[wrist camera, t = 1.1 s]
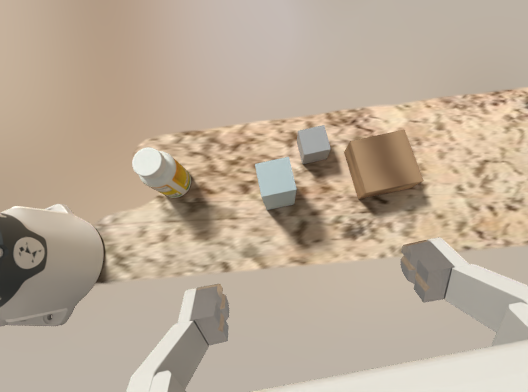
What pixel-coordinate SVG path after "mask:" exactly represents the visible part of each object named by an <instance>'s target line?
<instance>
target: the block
mask: <svg viewBox="0 0 528 392" xmlns="http://www.w3.org/2000/svg"><path fill="white" fill-rule="evenodd" d="M297 144H298V148H299V152H300V156H301V160H302V164H307V163H311V162H316V161H321V160H325V159H327V157H328V155H329V152H330V150H331V148H330V144H329V141H328V137H327V134H326V130H325V127H324V125H323V126H318V127H314V128H309V129H305V130H300V131H298V137H297Z"/></svg>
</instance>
